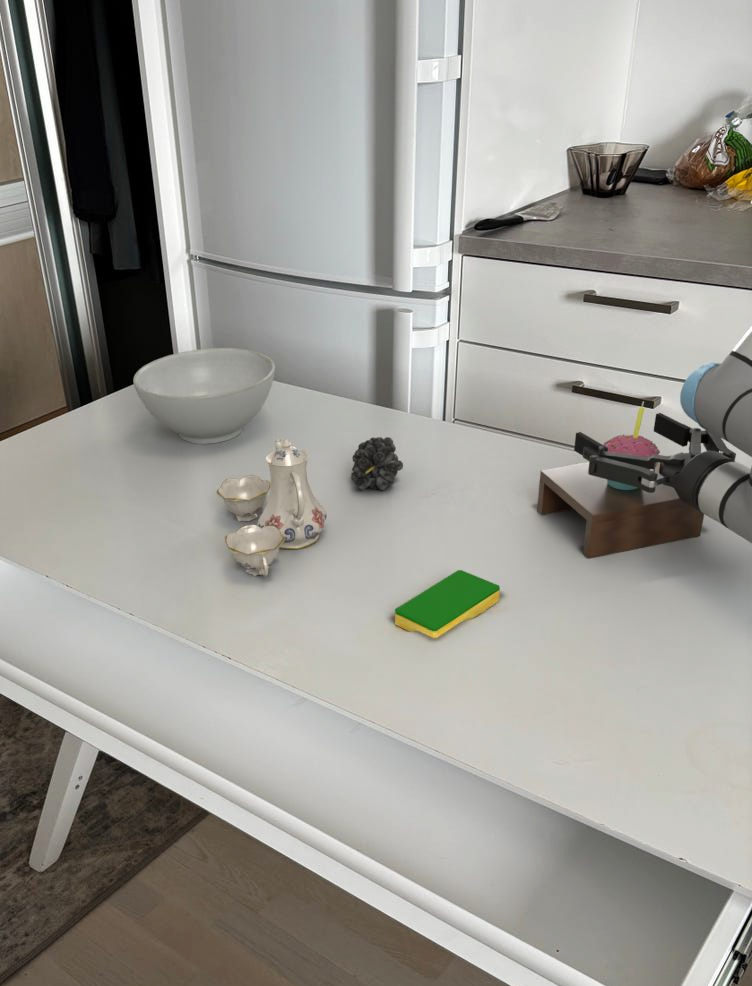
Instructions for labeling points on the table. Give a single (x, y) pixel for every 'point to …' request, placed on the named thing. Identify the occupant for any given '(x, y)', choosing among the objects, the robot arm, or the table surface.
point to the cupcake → (631, 448)
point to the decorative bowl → (206, 391)
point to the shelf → (617, 511)
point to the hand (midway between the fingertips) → (617, 431)
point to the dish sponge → (447, 604)
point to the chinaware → (273, 510)
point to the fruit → (375, 464)
